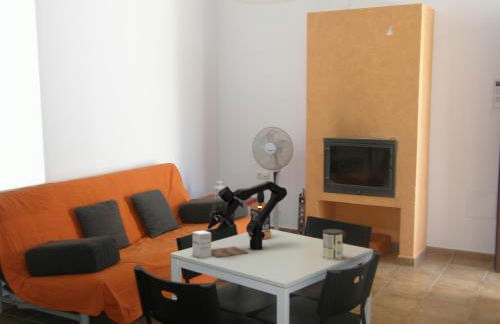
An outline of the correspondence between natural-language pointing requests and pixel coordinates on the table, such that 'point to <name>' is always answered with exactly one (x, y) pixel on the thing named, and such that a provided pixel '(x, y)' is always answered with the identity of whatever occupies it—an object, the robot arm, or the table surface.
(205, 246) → the supplement box
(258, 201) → the whiskey bottle
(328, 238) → the coffee can
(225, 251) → the walnut board
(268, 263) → the table surface
